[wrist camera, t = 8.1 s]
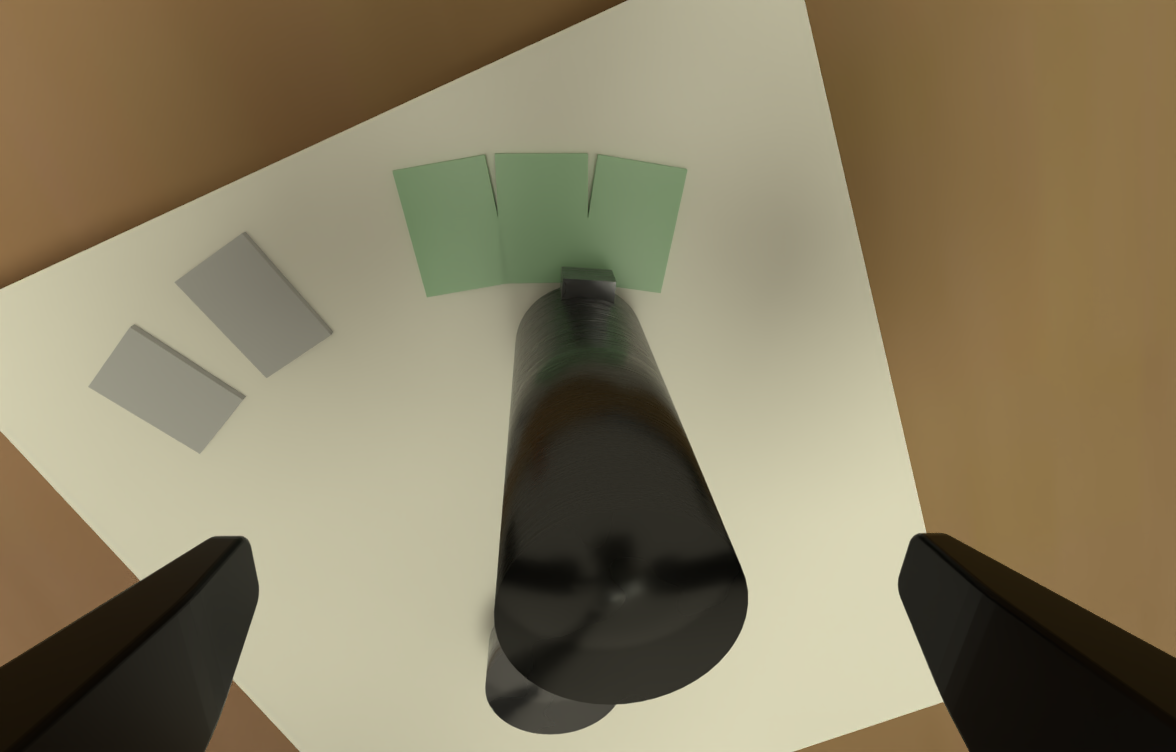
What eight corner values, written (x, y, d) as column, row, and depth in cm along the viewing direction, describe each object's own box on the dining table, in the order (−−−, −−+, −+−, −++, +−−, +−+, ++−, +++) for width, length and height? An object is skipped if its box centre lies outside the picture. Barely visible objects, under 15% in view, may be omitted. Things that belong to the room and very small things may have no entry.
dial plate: (424, 824, 28) (415, 881, 26) (-27, 305, 18) (-100, 334, 16) (932, 651, 26) (966, 700, 24) (757, -56, 15) (791, -76, 13)
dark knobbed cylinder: (610, 690, 22) (655, 1065, 13) (487, 689, 21) (455, 1077, 13) (669, 273, 16) (812, 486, 8) (501, 262, 15) (462, 474, 7)
